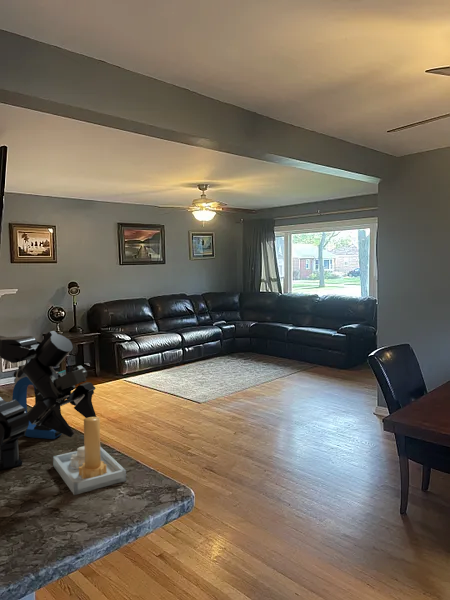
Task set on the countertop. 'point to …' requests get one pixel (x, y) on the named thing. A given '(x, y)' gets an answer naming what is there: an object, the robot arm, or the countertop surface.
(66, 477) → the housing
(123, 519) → the countertop surface
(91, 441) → the tan gear peg
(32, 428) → the handheld scanner
